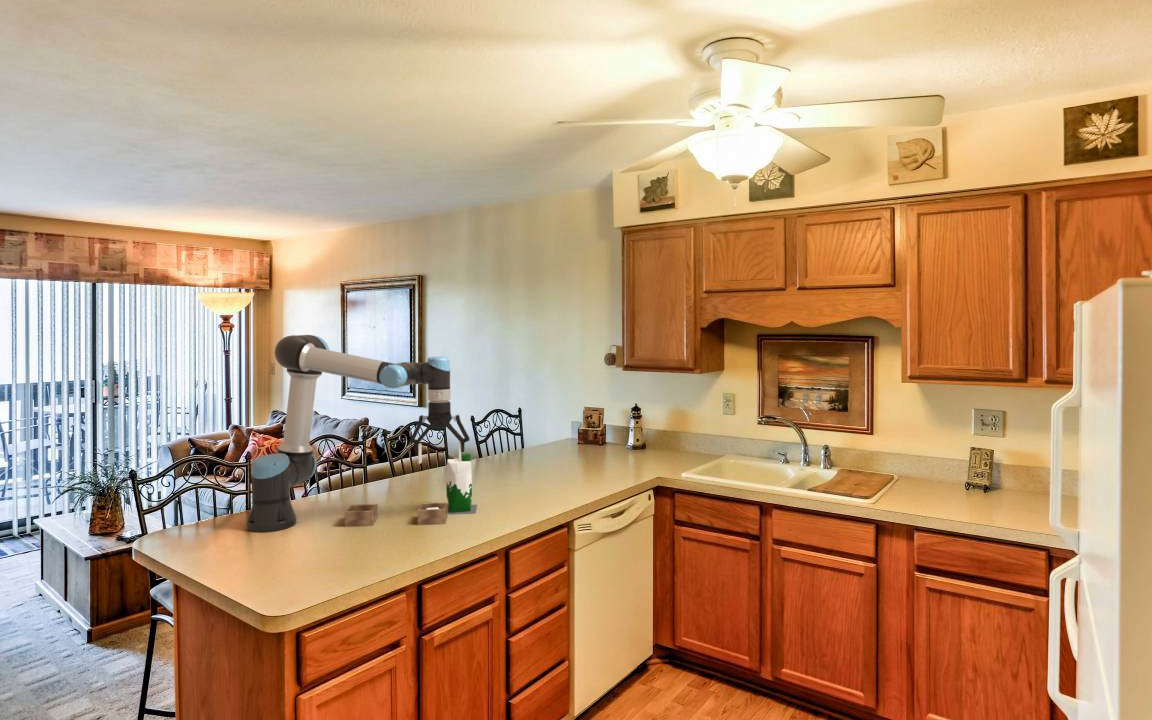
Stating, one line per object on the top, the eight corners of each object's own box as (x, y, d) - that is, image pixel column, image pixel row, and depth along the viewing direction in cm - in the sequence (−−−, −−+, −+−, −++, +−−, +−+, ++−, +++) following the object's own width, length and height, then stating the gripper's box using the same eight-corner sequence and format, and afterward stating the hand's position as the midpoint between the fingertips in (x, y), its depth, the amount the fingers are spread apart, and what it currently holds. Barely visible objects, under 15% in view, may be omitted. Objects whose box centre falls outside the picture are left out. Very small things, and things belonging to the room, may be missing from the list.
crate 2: (417, 526, 219) (417, 510, 219) (421, 519, 228) (421, 503, 228) (445, 525, 220) (444, 509, 220) (447, 518, 229) (447, 502, 229)
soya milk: (473, 511, 235) (472, 456, 234) (447, 513, 232) (446, 457, 231) (470, 505, 243) (469, 452, 242) (445, 507, 241) (445, 453, 240)
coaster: (441, 516, 231) (441, 514, 231) (444, 507, 243) (444, 505, 243) (475, 515, 232) (475, 513, 232) (477, 506, 244) (477, 504, 244)
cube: (428, 522, 221) (427, 511, 221) (426, 519, 225) (426, 508, 225) (439, 521, 223) (439, 509, 223) (438, 518, 226) (437, 507, 226)
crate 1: (344, 528, 218) (344, 512, 217) (351, 520, 227) (351, 505, 226) (372, 527, 219) (372, 511, 218) (378, 519, 228) (377, 504, 227)
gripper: (400, 403, 221) (401, 465, 222) (475, 401, 224) (476, 463, 225) (403, 400, 229) (404, 461, 230) (476, 399, 232) (476, 459, 233)
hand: (440, 462), depth 227 cm, fingers open, 13 cm apart
